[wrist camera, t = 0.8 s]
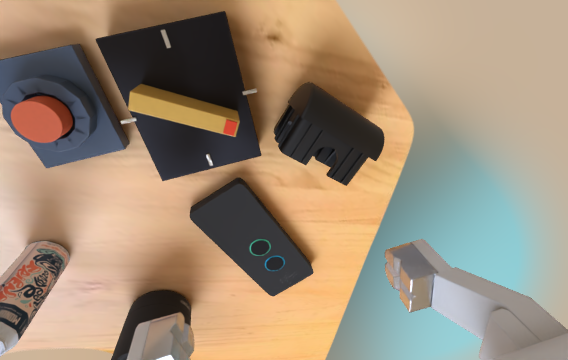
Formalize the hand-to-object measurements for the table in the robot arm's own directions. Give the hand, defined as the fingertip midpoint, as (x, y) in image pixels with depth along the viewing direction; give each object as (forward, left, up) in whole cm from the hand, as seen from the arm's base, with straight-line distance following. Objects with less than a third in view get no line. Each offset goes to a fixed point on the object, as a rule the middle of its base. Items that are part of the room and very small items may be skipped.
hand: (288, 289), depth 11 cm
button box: (-5, -17, -24) cm, 30 cm away
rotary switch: (-3, -5, -24) cm, 25 cm away
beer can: (+11, -28, -24) cm, 39 cm away
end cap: (+3, +8, -24) cm, 26 cm away
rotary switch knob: (-3, -5, -21) cm, 22 cm away
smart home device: (+18, -3, -24) cm, 30 cm away
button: (-5, -17, -21) cm, 27 cm away
